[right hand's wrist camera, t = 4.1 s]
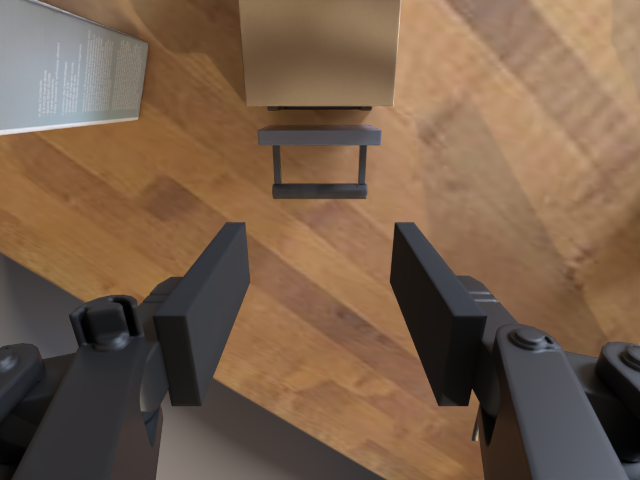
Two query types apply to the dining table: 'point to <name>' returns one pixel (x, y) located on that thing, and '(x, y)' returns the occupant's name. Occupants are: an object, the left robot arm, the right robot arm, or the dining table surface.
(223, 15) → the dining table surface
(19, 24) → the hard drive box
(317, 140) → the drawer
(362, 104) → the cabinet
